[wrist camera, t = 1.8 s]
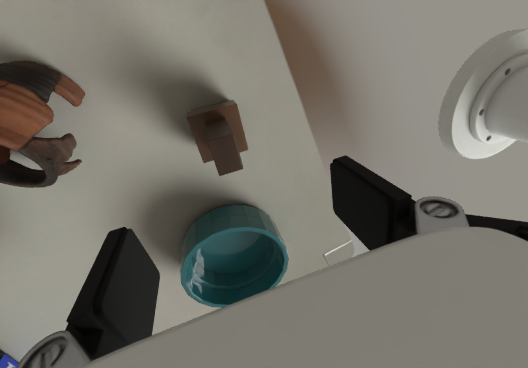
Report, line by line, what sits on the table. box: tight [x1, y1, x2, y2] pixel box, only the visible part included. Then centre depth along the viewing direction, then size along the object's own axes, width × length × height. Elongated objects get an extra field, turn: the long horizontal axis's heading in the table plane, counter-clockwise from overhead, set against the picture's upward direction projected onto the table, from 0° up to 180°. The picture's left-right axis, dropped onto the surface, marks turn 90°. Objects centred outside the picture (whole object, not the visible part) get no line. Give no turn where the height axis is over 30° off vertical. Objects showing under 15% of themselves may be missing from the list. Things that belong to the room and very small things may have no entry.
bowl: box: [180, 205, 289, 308], centre depth 32 cm, size 14×14×6 cm
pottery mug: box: [0, 61, 85, 188], centre depth 20 cm, size 12×10×8 cm
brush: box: [187, 100, 248, 176], centre depth 22 cm, size 5×5×10 cm
